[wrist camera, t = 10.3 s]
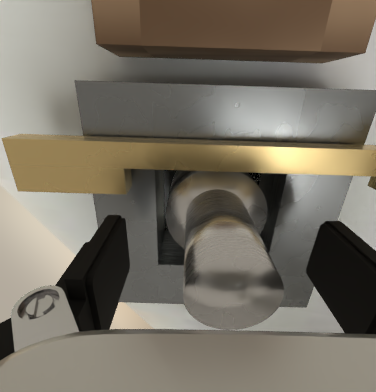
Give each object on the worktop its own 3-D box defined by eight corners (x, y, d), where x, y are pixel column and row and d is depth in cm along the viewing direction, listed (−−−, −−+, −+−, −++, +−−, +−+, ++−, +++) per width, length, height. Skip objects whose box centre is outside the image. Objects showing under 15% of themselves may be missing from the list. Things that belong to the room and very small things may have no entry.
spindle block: (284, 267, 20) (306, 307, 16) (125, 263, 19) (110, 301, 16) (332, 91, 14) (383, 90, 10) (105, 84, 14) (74, 80, 10)
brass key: (402, 193, 12) (465, 223, 9) (34, 182, 12) (-14, 208, 9) (432, 127, 10) (518, 138, 8) (15, 113, 10) (-47, 121, 8)
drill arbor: (245, 227, 18) (296, 350, 9) (170, 225, 18) (152, 346, 9) (257, 153, 15) (342, 227, 7) (170, 150, 15) (145, 222, 7)
